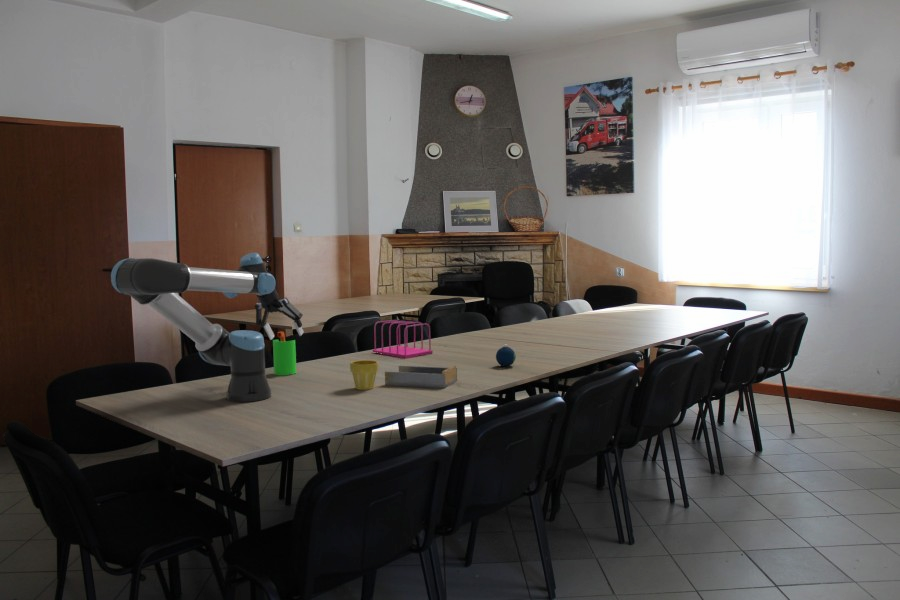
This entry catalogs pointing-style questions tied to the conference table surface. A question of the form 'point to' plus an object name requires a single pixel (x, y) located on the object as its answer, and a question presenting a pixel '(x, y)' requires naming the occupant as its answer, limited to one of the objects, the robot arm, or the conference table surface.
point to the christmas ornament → (505, 356)
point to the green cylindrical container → (284, 356)
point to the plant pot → (364, 373)
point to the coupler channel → (422, 376)
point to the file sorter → (404, 350)
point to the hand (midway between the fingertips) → (287, 336)
